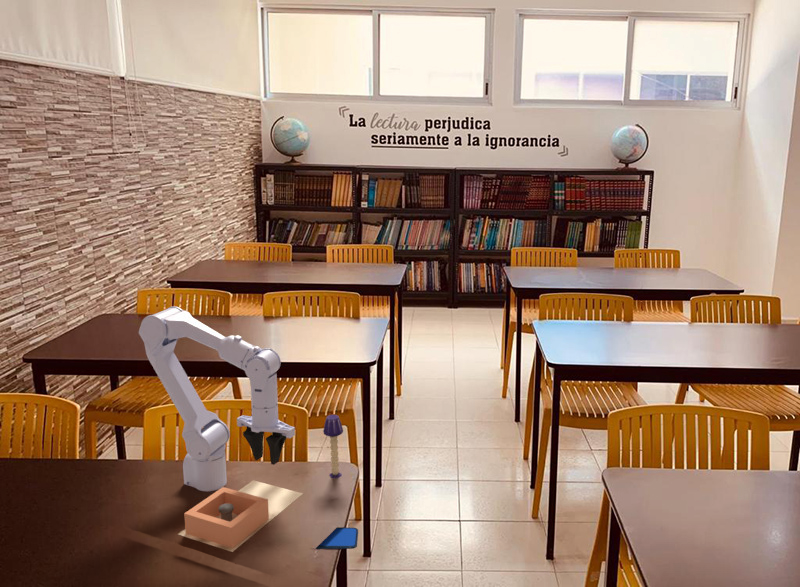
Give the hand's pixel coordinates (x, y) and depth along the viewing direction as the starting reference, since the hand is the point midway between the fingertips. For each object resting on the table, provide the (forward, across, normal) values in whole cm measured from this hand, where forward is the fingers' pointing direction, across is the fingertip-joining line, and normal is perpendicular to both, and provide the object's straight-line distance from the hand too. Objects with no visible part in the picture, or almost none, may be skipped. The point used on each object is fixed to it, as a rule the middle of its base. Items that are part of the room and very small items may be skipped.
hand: (266, 460), depth 154 cm
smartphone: (+10, +20, -8) cm, 23 cm away
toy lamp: (+10, +9, +14) cm, 19 cm away
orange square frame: (+8, +1, -15) cm, 17 cm away
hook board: (+9, +1, -10) cm, 13 cm away
